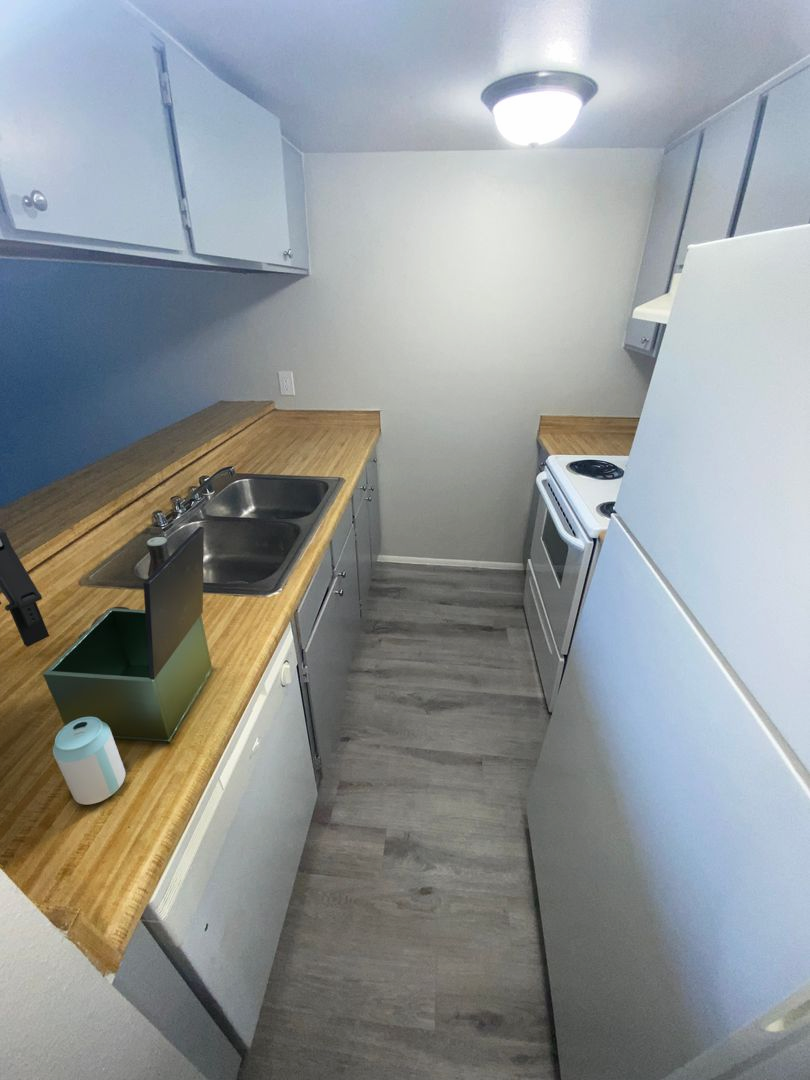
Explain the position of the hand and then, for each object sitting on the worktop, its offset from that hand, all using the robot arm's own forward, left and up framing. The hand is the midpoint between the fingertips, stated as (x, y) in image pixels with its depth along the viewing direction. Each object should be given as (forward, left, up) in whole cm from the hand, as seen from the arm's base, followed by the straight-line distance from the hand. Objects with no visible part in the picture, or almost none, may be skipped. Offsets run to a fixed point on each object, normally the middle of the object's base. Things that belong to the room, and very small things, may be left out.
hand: (12, 623), depth 67 cm
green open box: (+8, +10, -26) cm, 29 cm away
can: (+10, -7, -26) cm, 28 cm away
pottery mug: (-8, +25, -26) cm, 37 cm away
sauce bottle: (0, +36, -26) cm, 45 cm away
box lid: (+18, +10, -2) cm, 21 cm away
